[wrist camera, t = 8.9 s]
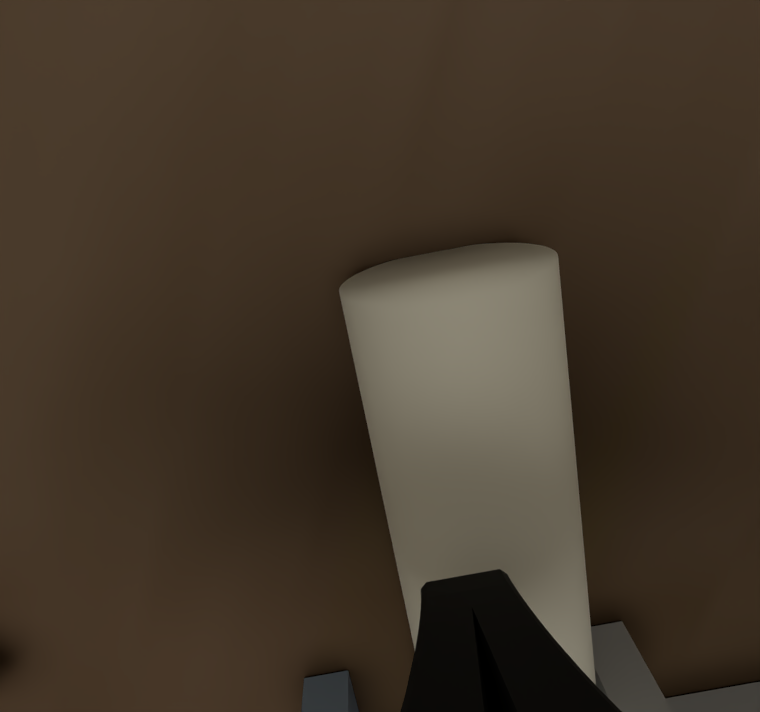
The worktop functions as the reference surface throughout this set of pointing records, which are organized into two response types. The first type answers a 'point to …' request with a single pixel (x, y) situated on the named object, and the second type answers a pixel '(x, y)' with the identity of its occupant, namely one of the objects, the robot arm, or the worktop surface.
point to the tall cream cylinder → (475, 425)
